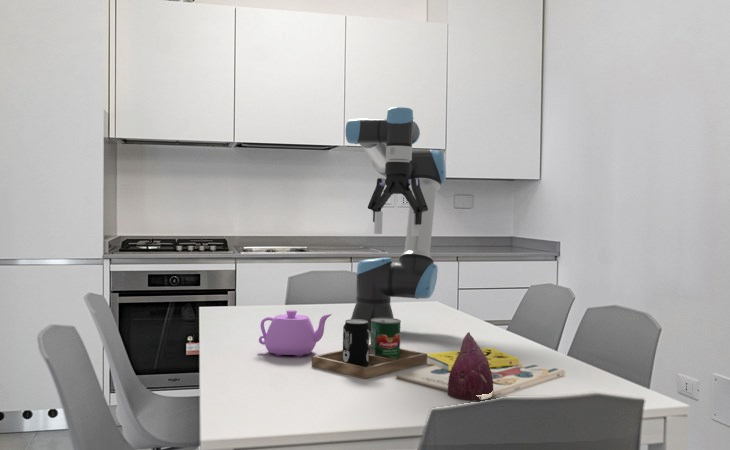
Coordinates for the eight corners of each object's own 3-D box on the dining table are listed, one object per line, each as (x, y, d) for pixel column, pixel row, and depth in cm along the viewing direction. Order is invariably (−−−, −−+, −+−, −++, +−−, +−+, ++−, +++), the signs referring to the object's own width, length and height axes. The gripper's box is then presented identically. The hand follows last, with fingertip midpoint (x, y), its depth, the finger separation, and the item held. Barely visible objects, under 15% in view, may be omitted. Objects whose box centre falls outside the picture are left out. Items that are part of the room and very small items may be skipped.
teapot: (253, 357, 190) (254, 312, 190) (263, 347, 203) (264, 305, 203) (328, 360, 189) (329, 315, 188) (333, 349, 202) (334, 308, 202)
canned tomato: (384, 356, 195) (385, 316, 195) (405, 361, 190) (407, 320, 189) (363, 360, 190) (364, 319, 189) (384, 365, 184) (386, 323, 184)
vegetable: (445, 403, 163) (436, 337, 166) (489, 397, 163) (479, 331, 167) (453, 404, 152) (443, 334, 155) (500, 398, 153) (489, 328, 156)
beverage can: (365, 372, 177) (366, 323, 176) (339, 370, 178) (340, 322, 177) (370, 366, 183) (371, 319, 183) (345, 364, 184) (346, 318, 184)
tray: (311, 366, 181) (311, 356, 181) (374, 352, 200) (374, 343, 200) (365, 378, 170) (365, 368, 170) (426, 363, 189) (427, 353, 189)
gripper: (357, 161, 212) (355, 233, 212) (426, 160, 196) (423, 237, 196) (373, 163, 217) (371, 232, 218) (441, 161, 201) (439, 237, 202)
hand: (396, 235), depth 207 cm, fingers open, 13 cm apart
